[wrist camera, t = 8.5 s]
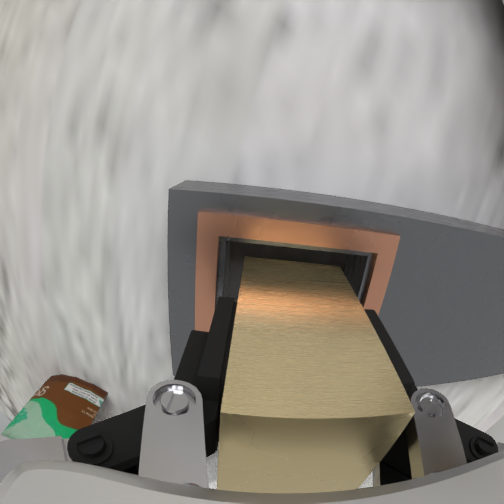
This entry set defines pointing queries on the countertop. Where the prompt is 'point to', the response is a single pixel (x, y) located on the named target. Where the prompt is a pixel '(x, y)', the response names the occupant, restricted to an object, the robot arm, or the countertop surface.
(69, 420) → the food container
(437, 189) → the countertop surface
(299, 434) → the tan wooden block
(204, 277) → the rail
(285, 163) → the countertop surface
